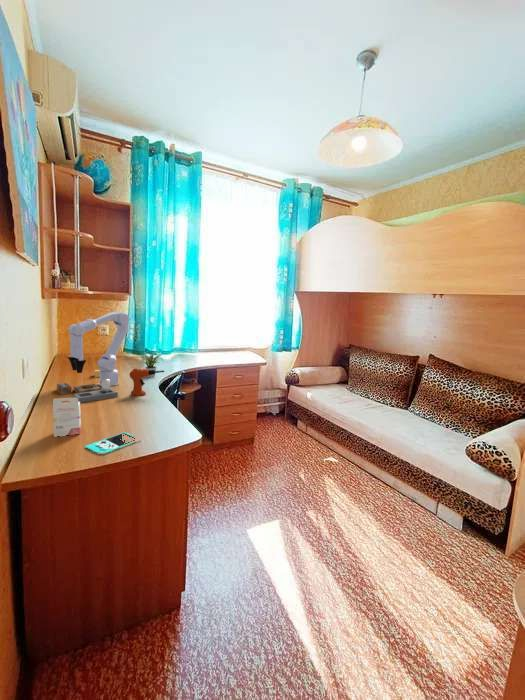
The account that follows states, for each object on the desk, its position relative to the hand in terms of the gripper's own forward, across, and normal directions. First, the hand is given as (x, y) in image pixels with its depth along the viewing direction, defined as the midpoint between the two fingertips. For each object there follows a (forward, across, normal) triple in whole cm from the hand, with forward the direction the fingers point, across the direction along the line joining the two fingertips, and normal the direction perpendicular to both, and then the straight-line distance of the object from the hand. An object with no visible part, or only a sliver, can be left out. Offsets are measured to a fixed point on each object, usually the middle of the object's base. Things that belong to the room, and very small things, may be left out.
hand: (77, 371), depth 172 cm
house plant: (+11, -7, +47) cm, 49 cm away
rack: (+10, +19, +3) cm, 22 cm away
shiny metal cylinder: (+10, +19, +8) cm, 23 cm away
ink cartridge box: (+11, +57, -20) cm, 61 cm away
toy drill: (+11, +28, +26) cm, 40 cm away
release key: (+9, -2, -7) cm, 11 cm away
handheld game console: (+11, +76, -10) cm, 77 cm away
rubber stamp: (+11, -24, +22) cm, 34 cm away
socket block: (+10, +6, +3) cm, 12 cm away
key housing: (+10, 0, -6) cm, 12 cm away
